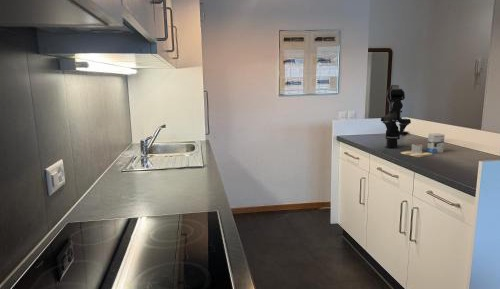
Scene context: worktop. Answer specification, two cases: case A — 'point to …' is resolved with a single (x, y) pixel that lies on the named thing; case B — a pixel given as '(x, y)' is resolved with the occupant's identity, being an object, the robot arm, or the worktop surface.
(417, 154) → the shaft block
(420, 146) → the tube
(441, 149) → the ink box
